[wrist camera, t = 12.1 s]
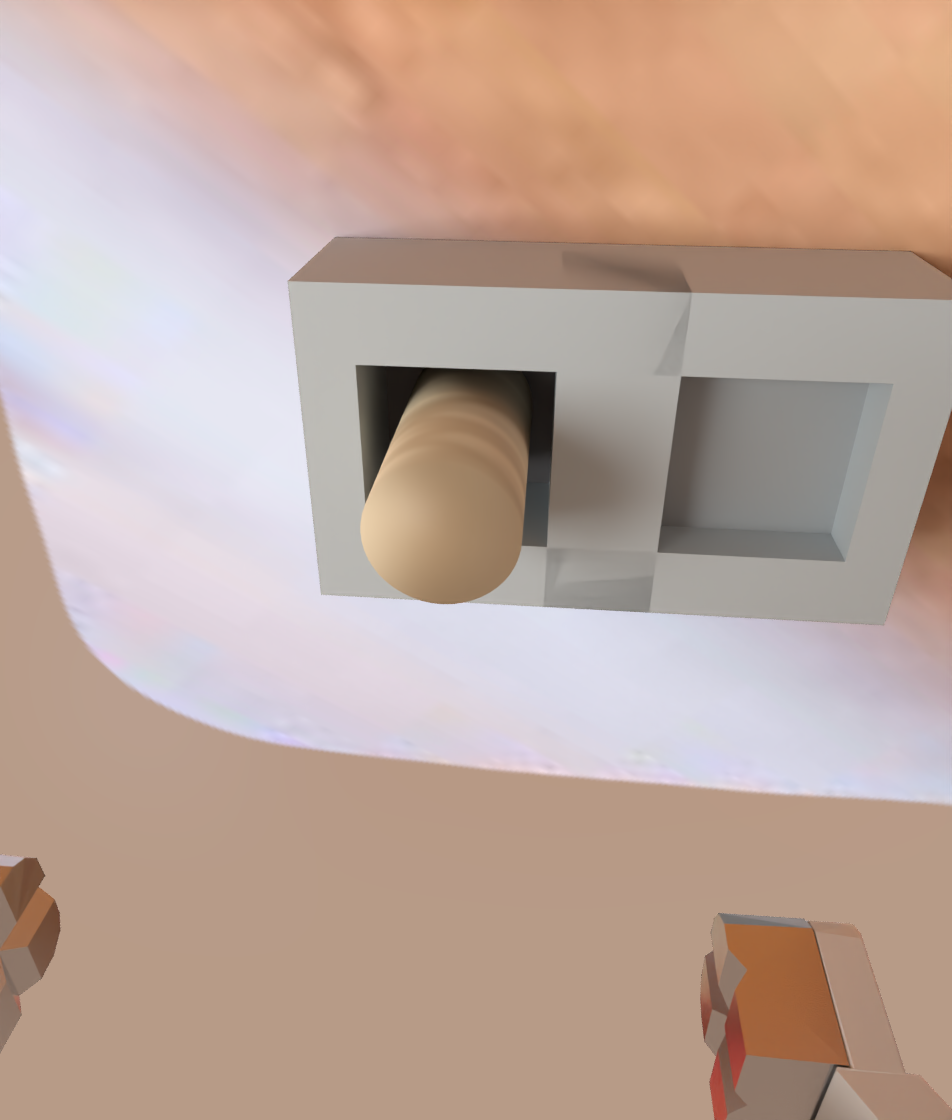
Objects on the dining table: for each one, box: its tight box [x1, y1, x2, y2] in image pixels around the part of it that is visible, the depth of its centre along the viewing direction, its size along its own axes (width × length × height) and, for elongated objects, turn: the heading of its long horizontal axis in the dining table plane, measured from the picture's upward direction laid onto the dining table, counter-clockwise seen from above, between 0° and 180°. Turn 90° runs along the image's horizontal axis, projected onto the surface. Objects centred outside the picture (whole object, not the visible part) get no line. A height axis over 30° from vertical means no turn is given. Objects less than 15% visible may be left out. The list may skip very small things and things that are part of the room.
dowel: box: [360, 367, 533, 604], centre depth 23 cm, size 4×4×8 cm
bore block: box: [288, 237, 952, 625], centre depth 25 cm, size 16×9×5 cm, turn 90°
